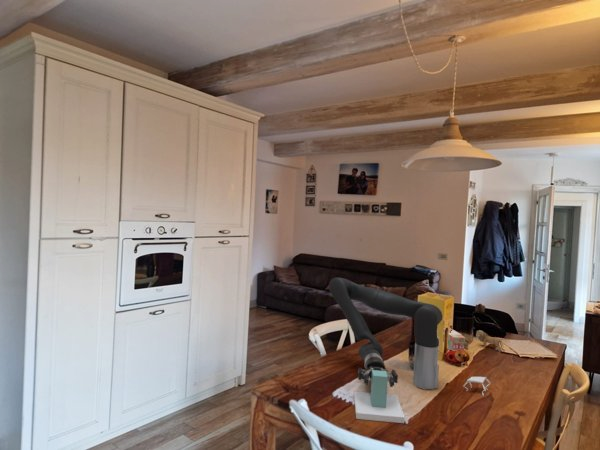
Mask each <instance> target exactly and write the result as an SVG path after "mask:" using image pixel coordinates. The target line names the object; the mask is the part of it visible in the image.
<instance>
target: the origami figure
mask: <svg viewBox="0 0 600 450" xmlns="http://www.w3.org/2000/svg"><path fill="white" fill-rule="evenodd" d="M485 381H486V382H487V383H488V384H487V385H484V382H485ZM468 383H469V386H470V388H468V387H467V386H466V385H468ZM472 383H476V384H481V385H482V387H483V390H482V391H481V394H482V396H485V394H484V392H486V391H488V390H489V389H488V388H487V387H488V386H489V385H491V384H492V383H491V381H490V380H489V379H488V377H487V376H471V377H469V378H468V379H467V380H466V381H465V383H464V384H463V385H462V387H463V388H465V389H466V390H465V391H466V392H468V391H469V389H472V387H473V384H472Z"/></svg>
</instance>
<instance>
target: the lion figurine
mask: <svg viewBox="0 0 600 450" xmlns="http://www.w3.org/2000/svg"><path fill="white" fill-rule="evenodd" d="M475 333H476V334H475V337H476V338H477V339H478V340H479V341H480V342H482V344H483V345H482V348H483V349H485V348H486V347H487V345H486V344H492V345H493V344H494V345H495V347H494V349H495V350H497V352H499V353H500V352H502V351H504V352H506V350H505V349H504V347H503V345H502V342H501V340H500V339H499V338H498V337H492V336H490V335H489V334H488V333H486V332H485V331H483V330H480V329H479V330H476V332H475Z"/></svg>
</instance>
